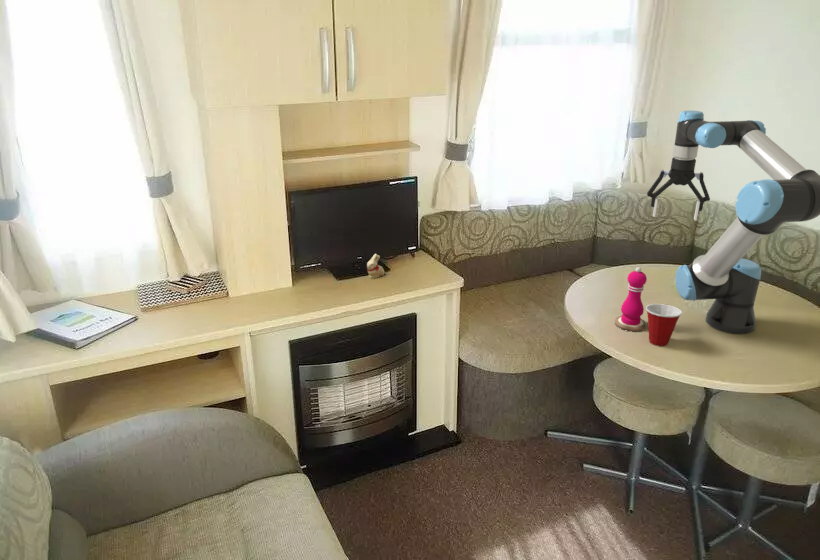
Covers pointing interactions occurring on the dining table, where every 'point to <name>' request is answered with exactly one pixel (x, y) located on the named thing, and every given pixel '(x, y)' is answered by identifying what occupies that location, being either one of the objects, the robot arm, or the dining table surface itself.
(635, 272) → the pepper mill
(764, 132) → the robot arm
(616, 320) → the brown cream oval disc
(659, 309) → the plastic cup
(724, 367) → the dining table surface
